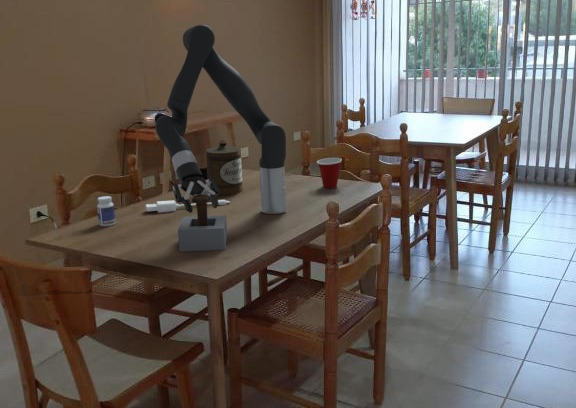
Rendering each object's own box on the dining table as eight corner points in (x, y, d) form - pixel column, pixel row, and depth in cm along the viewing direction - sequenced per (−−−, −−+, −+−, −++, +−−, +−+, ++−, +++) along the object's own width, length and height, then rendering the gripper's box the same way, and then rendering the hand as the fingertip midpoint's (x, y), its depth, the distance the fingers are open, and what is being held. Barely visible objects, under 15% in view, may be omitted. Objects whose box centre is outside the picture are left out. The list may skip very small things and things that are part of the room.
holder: (227, 235, 200) (226, 215, 199) (224, 249, 187) (223, 228, 185) (185, 236, 200) (183, 216, 198) (179, 251, 186) (177, 230, 185)
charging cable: (230, 207, 237) (230, 199, 236) (147, 213, 227) (146, 205, 226) (227, 204, 242) (227, 196, 241) (145, 210, 232) (145, 202, 231)
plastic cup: (313, 185, 264) (313, 158, 261) (336, 183, 267) (336, 156, 264) (322, 191, 254) (321, 163, 251) (345, 188, 257) (345, 161, 254)
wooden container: (229, 196, 249) (226, 144, 243) (201, 193, 256) (197, 142, 251) (249, 188, 262) (247, 138, 256) (221, 185, 269) (218, 136, 263)
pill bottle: (118, 222, 218) (116, 196, 215) (109, 227, 213) (106, 200, 210) (105, 221, 220) (102, 195, 217) (95, 226, 215) (92, 199, 212)
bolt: (208, 244, 190) (205, 199, 186) (193, 244, 191) (190, 198, 187) (214, 238, 196) (211, 194, 192) (199, 238, 197) (196, 193, 193)
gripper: (168, 163, 189) (185, 206, 183) (209, 158, 196) (227, 199, 190) (163, 177, 195) (179, 219, 188) (203, 171, 202) (220, 211, 196)
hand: (203, 209), depth 189 cm, fingers open, 8 cm apart
